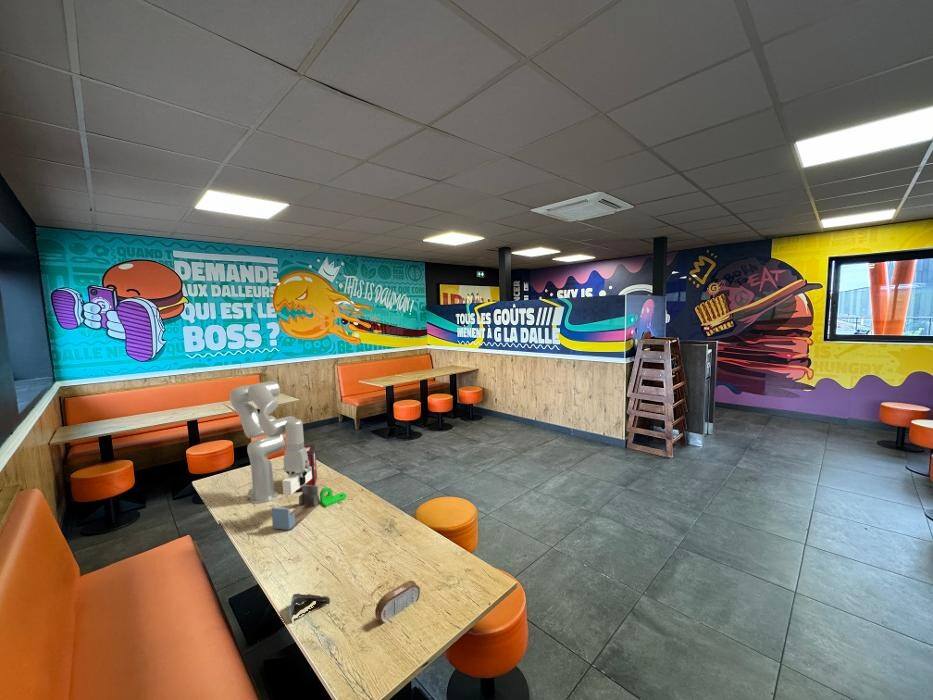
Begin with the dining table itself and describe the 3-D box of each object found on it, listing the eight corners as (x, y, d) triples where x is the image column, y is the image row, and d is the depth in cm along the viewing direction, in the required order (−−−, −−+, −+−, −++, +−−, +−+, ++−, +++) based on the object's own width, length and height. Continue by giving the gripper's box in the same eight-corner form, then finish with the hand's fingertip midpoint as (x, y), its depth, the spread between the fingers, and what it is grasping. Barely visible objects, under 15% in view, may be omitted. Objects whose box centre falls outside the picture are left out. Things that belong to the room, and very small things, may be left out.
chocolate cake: (326, 591, 125) (295, 577, 121) (332, 598, 120) (300, 584, 116) (309, 623, 121) (276, 610, 117) (314, 632, 115) (280, 618, 111)
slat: (283, 493, 166) (282, 480, 166) (304, 478, 182) (303, 466, 181) (291, 494, 166) (290, 481, 165) (312, 478, 181) (311, 466, 181)
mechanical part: (326, 508, 181) (325, 493, 180) (320, 504, 185) (319, 489, 184) (348, 499, 189) (347, 484, 188) (343, 495, 193) (342, 481, 192)
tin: (416, 598, 122) (415, 574, 122) (421, 603, 120) (421, 579, 119) (375, 624, 112) (373, 599, 111) (380, 631, 110) (379, 605, 109)
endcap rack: (272, 529, 163) (271, 508, 162) (304, 503, 186) (302, 484, 185) (291, 531, 162) (289, 509, 161) (320, 504, 184) (319, 485, 183)
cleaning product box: (314, 490, 199) (312, 454, 197) (296, 493, 197) (293, 456, 195) (317, 477, 215) (314, 444, 213) (300, 480, 212) (297, 446, 210)
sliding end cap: (272, 528, 163) (271, 508, 162) (278, 523, 167) (277, 503, 166) (289, 529, 161) (288, 509, 160) (295, 524, 165) (293, 505, 164)
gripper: (273, 448, 170) (276, 487, 172) (306, 449, 167) (309, 489, 169) (284, 442, 177) (287, 479, 179) (316, 444, 174) (319, 481, 176)
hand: (298, 483), depth 174 cm, fingers closed on slat, 4 cm apart
